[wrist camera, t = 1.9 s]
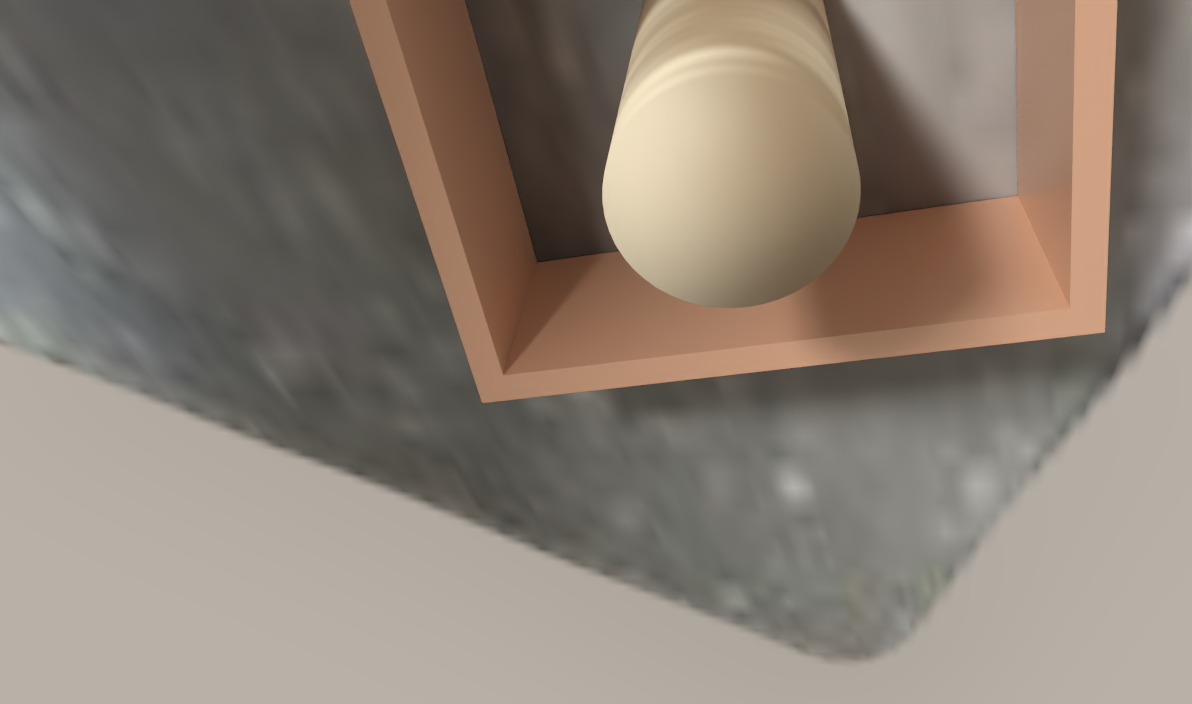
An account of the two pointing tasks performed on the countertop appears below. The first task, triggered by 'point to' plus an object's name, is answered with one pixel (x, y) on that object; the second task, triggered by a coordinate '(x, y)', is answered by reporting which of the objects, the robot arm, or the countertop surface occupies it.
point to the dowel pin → (731, 151)
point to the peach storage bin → (793, 323)
